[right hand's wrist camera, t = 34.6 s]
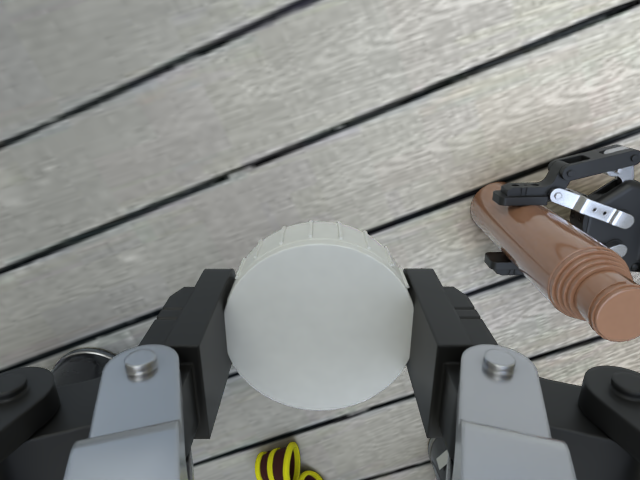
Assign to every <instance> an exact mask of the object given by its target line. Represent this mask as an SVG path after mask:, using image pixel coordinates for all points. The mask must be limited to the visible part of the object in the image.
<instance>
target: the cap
mask: <svg viewBox="0 0 640 480" xmlns="http://www.w3.org/2000/svg"><path fill="white" fill-rule="evenodd" d="M235 279H236V280H235V281H234V283H233V286H232V289H231V291H230V294H229V296H228V299H227V304H226V307H225V310H224V318H225V329H226V341H227V351H228V355H229V358H230V360H231V362H232V364H233V365H234V367H235V368H236V370H237V372H238V373H239V374H240V375H241V376H242V378H243V379H244V380H245V381H246V382H247V383H248V384H249V385H250V386H252V387H253V388H254V389H255V390H257V391H258V392H259V393H261V394H262V395H264V396H266V397H268V398H269V399H271V400H273V401H276V402H278V403H281V404H283V405H286V406H290V407H293V408H298V409H304V410H316V411H322V410H335V409H341V408H345V407H349V406H353V405H356V404H359V403H361V402H364V401H366V400H368V399H370V398H372V397H374V396H375V395H377V394H378V393H380V392H381V391H383V390H384V389H385V388H386V387H388V386H389V385H390V384H391V383H392V382H393V381H394V380H395V379H396V378H397V377H398V376H399V375H400V373H401V372H402V370H403V369H404V367H405V366H406V364H407V362H408V360H409V358H410V347H411V335H412V323H413V312H414V305H413V302H412V299H411V297H410V294H409V292H408V288H409V285H408V283H407V280H406V278H405V275H404V273H403V270H402V268H401V266H400V267H398V265H397V263H396V262H395V260H394V259H393V257H392V256H391V254H390V252H389V250H388V247H387V246H385V247H384V246H382V245H381V244H380V243H379V242H378V241H377V240H375V239H374V238H372V237H371V236H369V235H368V234H367V231H365V230H364V231H363V232H362V231H360V230H358V229H356V228H353V227H350V226H347V225H344V224H341V222H339V221H338V222H337V223H335V222H324V221H318V222H313V220H309V222H306V223H300V224H296V225H292V226H289V227H286V226H283V227H282V229H281V230H279V231H277V232H275V233H273V234H272V235H270V236H268V237H267V238H265V239H264V240H262V239H261V240H259V242H258V245H257V246H256V247H255V248H254V249H253V250H252V251H251V252H250V253H249V255H248V256H247V258H246V259H245V258H243V259H242V262H241V264H240V267H239V269H238V272H237V274H236V277H235Z"/></svg>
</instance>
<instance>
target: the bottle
mask: <svg viewBox="0 0 640 480" xmlns="http://www.w3.org/2000/svg"><path fill="white" fill-rule="evenodd" d="M504 184H507V183H506V182H494V183H491V184H488V185H486V186H484V187H483V188H482V189H480V190H479V191H478V192H477V194H476V195H475V196H474V198H473V200H472V203H471V216H472V219H473V221H474V222H475V223H476V225H477V226H478V227H479V228H480V229H481V230H482V231H483V232H484V233H485V234H486V235H487V236H488V237H489V238H490V239H491V240H492V241H493V243H494V244H495V245H496V246H497V247H498V248H499V249H500V250H501V251H502V252H503V253H504V254H505V255H506V256H507V257H508V258H509V259H510V261H511V262H512V263H513V264H514V265H515V266H516V267H517V268H518V269H519V270H520V271H521V272H522V273H523V274H524V275H525V276H526V277H527V279H528V280H529V281H530V282H531V283H532V284H533V285H534V286H535V287H536V288H537V289H538V290H539V291H540V292H541V293H542V294H543V295H544V297H545V298H546V299H547V300H548V301H549V302H550V303H551V304H552V305H553V306H554V307H555V308H556V309H557V310H559V311H560V312H562V313H564V314H565V315H567V316H569V317H573V318H577V319H580V320H584V321H587V322H588V323H589V324H590V326H591V327H592V329H593V330H594V331H596V333H597V334H598V335H600V336H601V337H602V338H604V339H607V340H609V341H615V342H623V341H629V340H632V339H635V338H636V337H638V336H640V285H638V284H637V283H635V282H634V281H633V279H632V276H631V273H630V271H629V268H628V266H627V264H626V262H625V261H624V260H623V259H622V258H621V256H620V255H619V254H618V253H616V252H615V251H613V250H612V249H610V248H609V247H607V246H605V245H604V244H602V243H601V242H599V241H598V240H596V239H595V238H593V237H592V236H590V235H589V234H587V233H585V232H584V231H582V230H581V229H579V228H578V227H576V226H575V225H573V224H572V223H570V222H569V221H567V220H565V219H564V218H562V217H561V216H559V215H558V214H556V213H555V212H553V211H552V210H550V209H549V208H547V207H545V206H544V205H527V206H502V205H498V204H497V203H496V202H494V201H493V200H492V197H493V191H495V190H501V186H502V185H504Z"/></svg>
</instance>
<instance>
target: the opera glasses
mask: <svg viewBox="0 0 640 480" xmlns="http://www.w3.org/2000/svg"><path fill="white" fill-rule="evenodd" d="M255 474H256V478H257V480H323V479H322V478H321V477H320V475H318V474H317V473H316V472H314V471H310V470H309V471H305V472H303V473H302V474H301V475H300V452H299V448H298V446H297V444H296V443H295V442H290V443H289V444H288V446H287V447H285V448H282V449H281V448H276V449H273V450H272V451H268V452H260V453H259V454H258V456H257V458H256V462H255ZM299 475H300V476H299Z"/></svg>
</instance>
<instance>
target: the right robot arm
mask: <svg viewBox="0 0 640 480" xmlns="http://www.w3.org/2000/svg"><path fill="white" fill-rule="evenodd" d="M403 273H404V275H405V278H406V280H407V283H408V285H409V288H408V292H409V294H410V297H411V299H412V302H413V305H414V312H413V323H412V335H411V347H410V358H409V360H408V362H407V364H406V366H407V369H408V373H409V376H410V380H411V383H412V387H413V390H414V394H415V397H416V401H417V404H418V408H419V411H420V415H421V418H422V422H423V425H424V429H425V432H426V436H427V438H443V439H444V442H445V445H446V448H447V451H448V459H447V469H446V480H640V373H638V372H635V371H632V370H629V369H626V368H621V367H616V366H597V367H593V368H591V369H589V370H588V371H587V372H586V373H585V376H584V379H583V383H582V386H577V385H573V384H568V383H563V382H558V381H553V380H548V379H544V378H541V377H539V376H538V371H537V369H536V367H535V365H534V364H533V363H532V362H531V360H529V359H528V358H527V357H526V356H524V355H523V354H521V353H519V352H517V351H515V350H512V349H510V348H507V347H503V346H499V345H498V344H497V342H496V341H495V339H494V338H493V336H492V334H491V333H490V331H489V330H488V328H487V327H486V325H485V323H484V322H483V320H482V319H480V315H479V314H478V312H477V311H476V310H475V309H474V306H473V304H472V303H471V301H470V300H469V298H468V296H466V295H465V294H463V293H462V292H460V291H459V290H457V289H456V288H455V287H443V286H442V284H441V283H440V281H439V279H438V277H437V275H436V273H435V272H434V270H433V269H404V270H403ZM235 277H236V276H235V271H234V269H205V270H204V271H203V273H202V275H201V276H200V278H199V280H198V282H197V284H196V285H195V287H183V288H182V289H180V290H179V291H178V292H176V293H175V294H173V295H172V296H170V297H169V299H168V300H167V302H166V304H165V305H164V307H163V310H161V311H160V313H159V315H158V316H157V320H155V321H154V322H153V324H152V325H151V327H150V329H149V330H148V332H147V333H146V335H145V336H144V338H143V339H142V341H141V343H140V344H139V346H137V347H133V348H130V349H128V350H125V351H123V352H121V353H119V354H117V355H116V356H115V355H113V354H111V353H109V352H106V351H103V350H99V349H90V348H87V349H78V350H75V351H72V352H70V353H68V354H66V355H65V356H63V357H62V358H61V359H60V360H59V362H58V363H57V364H56V365H55V367H54V368H53V370H52V371H51V372H50V371H49V370H47V369H44V368H40V367H24V368H18V369H14V370H10V371H6V372H3V373H1V374H0V480H194V469H193V459H192V452H191V445H192V442H193V439H210V436H211V433H212V430H213V426H214V423H215V419H216V416H217V412H218V409H219V406H220V402H221V399H222V395H223V392H224V388H225V385H226V382H227V378H228V375H229V371H230V368H231V365H232V362H231V360H230V358H229V355H228V351H227V341H226V329H225V318H224V310H225V307H226V304H227V299H228V296H229V294H230V291H231V289H232V286H233V283H234V281H235V280H236V279H235Z"/></svg>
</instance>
